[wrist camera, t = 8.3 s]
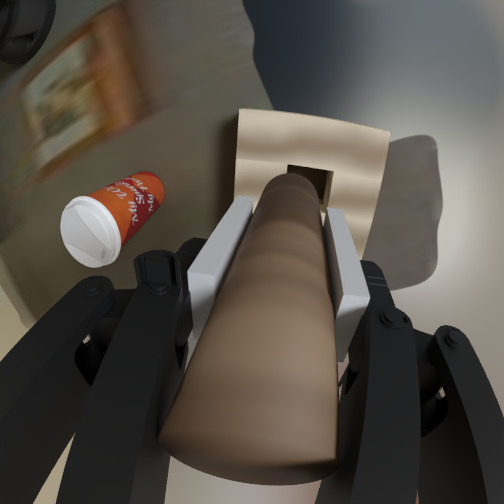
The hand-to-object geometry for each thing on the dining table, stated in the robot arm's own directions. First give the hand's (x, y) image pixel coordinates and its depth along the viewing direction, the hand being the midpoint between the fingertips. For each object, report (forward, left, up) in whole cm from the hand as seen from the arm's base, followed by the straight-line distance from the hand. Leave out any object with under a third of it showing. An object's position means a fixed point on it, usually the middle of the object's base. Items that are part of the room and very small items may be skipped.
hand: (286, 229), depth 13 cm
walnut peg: (0, 0, -4) cm, 4 cm away
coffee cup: (+7, -20, -23) cm, 31 cm away
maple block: (+3, +2, -22) cm, 23 cm away
